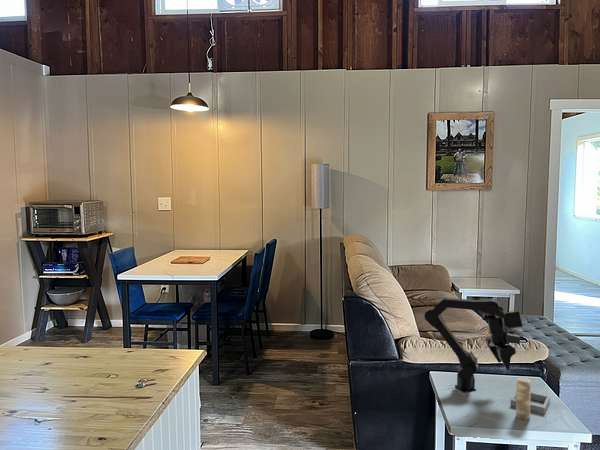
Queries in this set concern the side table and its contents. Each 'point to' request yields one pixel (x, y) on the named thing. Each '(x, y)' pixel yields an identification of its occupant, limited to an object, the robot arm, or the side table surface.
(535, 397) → the tray
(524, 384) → the tan wooden tall block
